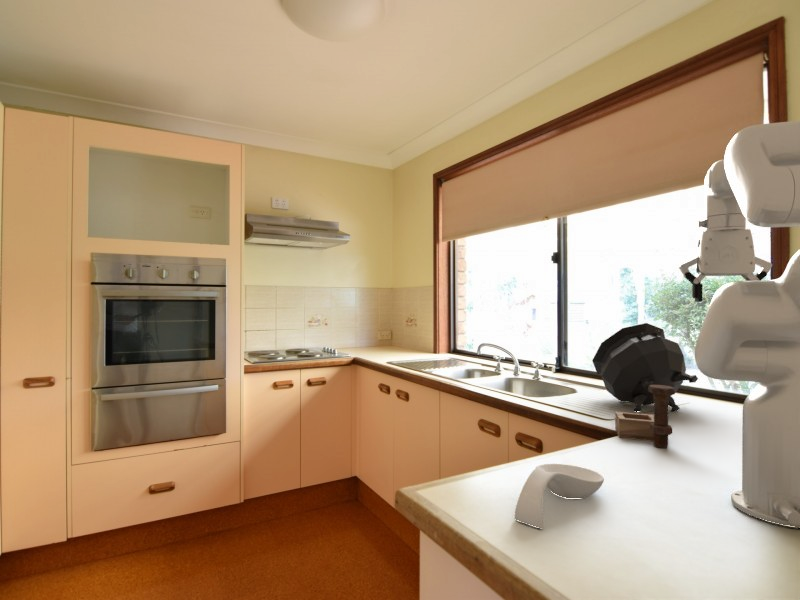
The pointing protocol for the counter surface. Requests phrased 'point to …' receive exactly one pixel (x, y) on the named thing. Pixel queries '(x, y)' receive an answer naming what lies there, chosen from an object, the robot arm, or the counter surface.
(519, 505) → the spoon rest
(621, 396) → the black cauldron
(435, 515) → the counter surface
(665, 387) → the bolt
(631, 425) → the holder
